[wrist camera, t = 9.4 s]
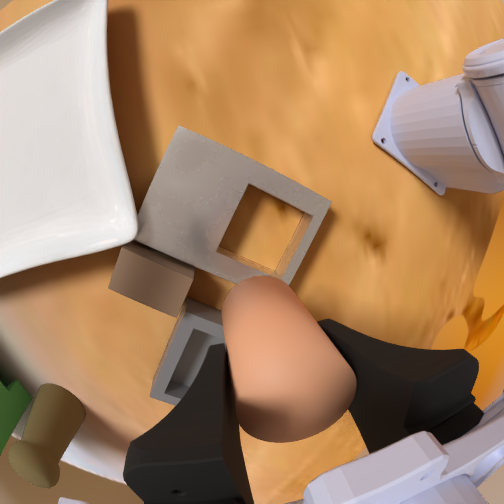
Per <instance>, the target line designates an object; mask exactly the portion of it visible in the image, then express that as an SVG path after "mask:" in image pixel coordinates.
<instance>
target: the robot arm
mask: <svg viewBox="0 0 504 504" xmlns="http://www.w3.org/2000/svg"><path fill="white" fill-rule="evenodd" d="M462 68H463V71H464V74H460V75H456V76H452V77H449V78H445V79H442V80H438V81H435V82H432V83H428V84H425V85H422V86H420V85H419V84H418V83H416V82H415V81H414V80H413V79H412V78H411V77H410V76H408V75H407V74H406V73H405V72H403V71H401V72H398V73H397V76H396V79H395V81H394V84H393V86H392V89H391V91H390V94H389V96H388V99H387V101H386V104H385V106H384V108H383V111H382V113H381V116H380V118H379V120H378V123H377V125H376V127H375V130H374V132H373V134H372V140H373V142H374V143H376V144H377V145H378V146H380V147H381V148H382V149H384V150H385V151H386V152H388V153H389V154H390V155H392V156H393V157H394V158H395V159H397V160H398V161H399V162H400V163H402V164H403V165H404V166H405V167H407V168H408V169H409V170H410V171H412V172H413V173H414V174H415V175H416V176H418V177H419V178H420V179H421V180H422V181H423V182H425V183H426V184H427V185H428V186H429V187H430V188H431V189H433V190H434V191H435V192H436V193H437V194H438V195H444V193H445V191H446V188H447V187H448V188H455V189H462V190H469V191H475V192H482V193H489V194H492V193H497V192H500V191H502V190H504V38H503V39H500V40H497V41H494V42H491V43H489V44H486V45H484V46H482V47H480V48H478V49H476V50H474V51H472V52H471V53H469V54H468V55H467V56H466V57H465V61H464V64H463V67H462ZM406 79H407V81H406ZM381 139H383V141H384V143H383V144H382V142H381ZM434 183H435V186H434ZM317 323H318V324H319V326H320V327H321V328H322V330H323V331H324V332H325V334H326V335H327V336H328V338H329V339H330V340H331V342H332V343H333V344H334V346H335V347H336V348H337V350H338V351H339V352H340V354H341V355H342V356H343V358H344V359H345V360H346V362H347V363H348V364H349V366H350V367H351V368H352V370H353V372H354V374H355V377H356V383H357V387H356V393H355V396H354V399H353V401H352V403H351V405H350V407H349V408H348V410H349V412H350V413H351V415H352V417H353V419H354V421H355V423H356V425H357V427H358V429H359V431H360V433H361V436H362V438H363V440H364V442H365V444H366V447H367V449H368V451H369V455H366V456H364V457H361V458H359V459H356V460H353V461H351V462H348V463H345V464H343V465H340V466H337V467H335V468H333V469H331V470H329V471H326V472H324V473H322V474H320V475H319V476H318V477H316V478H315V479H314V480H312V481H311V482H310V483H309V484H308V486H307V487H306V489H305V491H304V493H303V494H304V499H302V500H298V501H294V502H290V503H286V504H489V503H488V502H487V501H486V500H485V498H484V497H483V496H482V495H481V493H480V492H479V491H478V489H477V487H478V486H479V485H480V484H482V483H483V482H484V481H485V480H486V479H487V478H488V477H490V476H491V475H492V474H493V473H494V472H495V471H496V470H497V469H498V468H499V467H500V466H501V465H502V464H503V463H504V390H503V394H502V396H500V397H499V398H498V399H497V400H495V401H494V402H493V403H492V404H490V405H489V406H488V407H487V408H485V409H484V410H483V411H482V410H480V408H478V407H477V406H476V405H475V404H474V402H475V400H476V399H475V397H474V396H473V395H472V394H471V391H472V389H473V386H474V383H475V381H476V378H477V375H478V371H479V362H478V360H477V359H476V358H475V357H473V356H472V355H471V354H470V353H468V352H467V351H466V350H464V349H452V350H427V349H417V348H410V347H404V346H399V345H395V344H391V343H387V342H384V341H381V340H378V339H375V338H372V337H369V336H367V335H364V334H362V333H360V332H357V331H355V330H353V329H351V328H348V327H346V326H344V325H342V324H340V323H338V322H336V321H333V320H331V319H325V320H322V321H318V322H317ZM123 478H124V481H125V482H126V484H127V485H128V486H129V487H130V488H131V489H132V490H133V491H134V492H135V493H136V494H137V495H138V496H139V497H140V498H141V499H142V500H143V501H144V504H254V501H253V497H252V493H251V489H250V484H249V480H248V476H247V471H246V467H245V462H244V457H243V452H242V448H241V441H240V432H239V423H238V420H237V417H236V412H235V405H234V399H233V393H232V386H231V380H230V373H229V366H228V359H227V352H226V348H225V344H224V343H220V344H215V345H210V346H209V348H208V350H207V353H206V356H205V359H204V361H203V363H202V365H201V367H200V369H199V372H198V374H197V376H196V377H195V379H194V381H193V382H192V384H191V386H190V387H189V389H188V391H187V392H186V393H185V395H184V396H183V398H182V399H181V400H180V401H179V403H178V404H177V405H176V406H175V407H174V408H173V409H172V410H171V412H170V413H169V414H168V415H167V416H166V417H165V418H163V419H162V420H161V421H160V422H159V423H158V424H156V425H155V426H154V427H153V428H151V429H150V430H149V431H147V432H146V433H144V434H143V435H141V436H140V437H138V438H137V439H135V440H133V441H132V442H131V443H130V446H129V449H128V452H127V456H126V460H125V466H124V472H123ZM58 504H89V503H87V502H84V501H79V500H74V499H69V498H64V497H61V498H60V499H59V502H58Z"/></svg>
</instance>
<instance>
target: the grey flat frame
mask: <svg viewBox="0 0 504 504" xmlns="http://www.w3.org/2000/svg"><path fill="white" fill-rule="evenodd" d="M248 184H249V185H251V186H253V187H255V188H257V189H259V190H261V191H263V192H265V193H267V194H269V195H271V196H273V197H275V198H277V199H279V200H281V201H283V202H285V203H287V204H289V205H291V206H293V207H295V208H297V209H299V210H301V211H303V212H304V214H303V216H302V218H301V220H300V222H299V224H298V226H297V228H296V230H295V232H294V234H293V236H292V238H291V240H290V242H289V244H288V246H287V248H286V250H285V252H284V254H283V256H282V258H281V260H280V262H279V264H278V266H277V268H276V270H275V271H274V270H271V269H269V268H267V267H264V266H262V265H260V264H258V263H255V262H253V261H251V260H248V259H246V258H244V257H242V256H239V255H237V254H235V253H232V252H230V251H228V250H226V249H223V248H221V247H219V244H220V242H221V240H222V237H223V235H224V233H225V231H226V229H227V227H228V225H229V223H230V221H231V219H232V216H233V214H234V212H235V210H236V208H237V206H238V204H239V202H240V200H241V198H242V196H243V194H244V192H245V190H246V188H247V186H248ZM330 204H331V201H330V200H328V199H326V198H324V197H323V196H321V195H319V194H317V193H315V192H314V191H312V190H310V189H308V188H306V187H305V186H303V185H301V184H299V183H297V182H295V181H294V180H292V179H290V178H288V177H286V176H284V175H282V174H280V173H278V172H276V171H275V170H273V169H271V168H269V167H267V166H265V165H263V164H261V163H259V162H257V161H255V160H253V159H251V158H249V157H247V156H245V155H243V154H241V153H239V152H236V151H234V150H232V149H230V148H228V147H226V146H224V145H222V144H219V143H217V142H215V141H213V140H211V139H209V138H206V137H204V136H202V135H200V134H197V133H195V132H193V131H191V130H188V129H186V128H184V127H181V126H178V128H177V130H176V132H175V134H174V136H173V138H172V140H171V142H170V144H169V146H168V148H167V150H166V152H165V154H164V156H163V158H162V161H161V163H160V165H159V167H158V169H157V171H156V174H155V176H154V178H153V180H152V183H151V185H150V187H149V189H148V192H147V194H146V197H145V199H144V201H143V204H142V206H141V209H140V211H139V214H138V224H139V226H138V234H137V237H136V238H135V239H134V240H136V241H138V242H140V243H143V244H145V245H147V246H149V247H152V248H154V249H156V250H158V251H161V252H163V253H165V254H167V255H170V256H172V257H174V258H177V259H179V260H181V261H184V262H186V263H188V264H191V265H193V266H195V267H198V268H200V269H202V270H205V271H207V272H209V273H212V274H214V275H216V276H219V277H221V278H224V279H226V280H228V281H231V282H233V283H236V284H238V283H240V282H241V281H243V280H245V279H247V278H250V277H254V276H272V277H275V278H278V279H280V280H282V281H284V282H285V283H286V284H288V285H289V284H290V283H291V281H292V279H293V277H294V275H295V273H296V271H297V269H298V267H299V266H300V264H301V262H302V260H303V258H304V256H305V254H306V252H307V250H308V248H309V246H310V244H311V242H312V240H313V239H314V237H315V235H316V233H317V231H318V229H319V227H320V225H321V223H322V221H323V219H324V217H325V215H326V213H327V211H328V209H329V207H330Z"/></svg>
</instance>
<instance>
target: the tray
mask: <svg viewBox="0 0 504 504" xmlns="http://www.w3.org/2000/svg"><path fill="white" fill-rule="evenodd" d="M220 343H224V344H225V338H224V330H223V323H222V311H220V310H218V309H215V308H213V307H210V306H208V305H205V304H202V303H200V302H197V301H195V300H193V299H190V298H188V297H187V300H186V302H185V304H184V307H183V309H182V311H181V314H180V316H179V318H178V320H177V323H176V325H175V328H174V330H173V332H172V335H171V337H170V339H169V342H168V344H167V347H166V349H165V351H164V354H163V356H162V359H161V361H160V363H159V366H158V368H157V371H156V373H155V376H154V378H153V382H152V387H151V392H150V397H151V398H154V399H157V400H160V401H163V402H166V403H169V404H172V405H175V406H176V405H177V404H178V403H179V401H180V400H181V399H182V398H183V396H184V395H185V393H186V392H187V391H188V389H189V387H190V386H191V384H192V382H193V381H194V379H195V377H196V376H197V374H198V372H199V369H200V367H201V365H202V363H203V361H204V359H205V356H206V353H207V350H208V348H209V346H210V345H215V344H220ZM225 348H226V345H225Z"/></svg>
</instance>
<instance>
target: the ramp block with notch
mask: <svg viewBox="0 0 504 504" xmlns="http://www.w3.org/2000/svg"><path fill="white" fill-rule="evenodd" d="M31 399H32V396H31V395H30V394H29V393H28V392H27V391H26V389H25V388H24V387H23V386H22V385H21V383H20V382H19V381H18V380H16V381H14V382H12V383H10V384H8V385H6V386H4V385H3V384H2V383H1V381H0V455H1V453H2V451H3V449H4V447H5V445H6V443H7V441H8V439H9V437H10V436H11V434H12V432H13V430H14V428H15V427H16V425H17V423H18V421H19V419H20V418H21V416H22V414H23V413H24V411H25V409H26V407H27V406H28V404H29V402H30V401H31Z"/></svg>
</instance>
